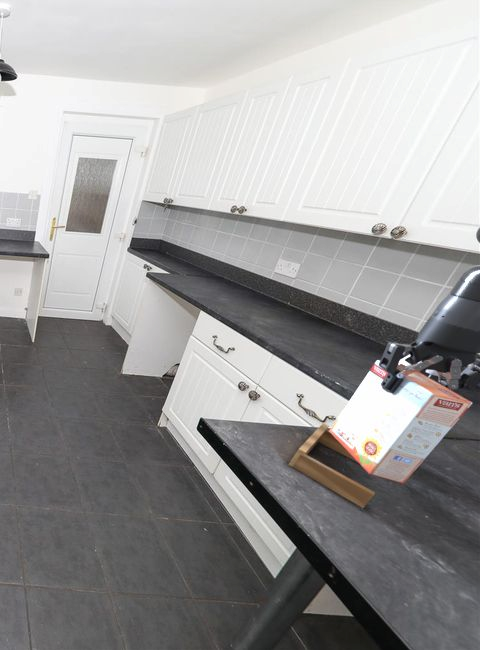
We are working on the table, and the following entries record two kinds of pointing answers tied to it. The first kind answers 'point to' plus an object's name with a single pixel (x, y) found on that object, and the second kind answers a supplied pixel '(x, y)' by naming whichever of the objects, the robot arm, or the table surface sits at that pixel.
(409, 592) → the table surface
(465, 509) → the table surface
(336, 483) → the rack
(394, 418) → the cracker box
